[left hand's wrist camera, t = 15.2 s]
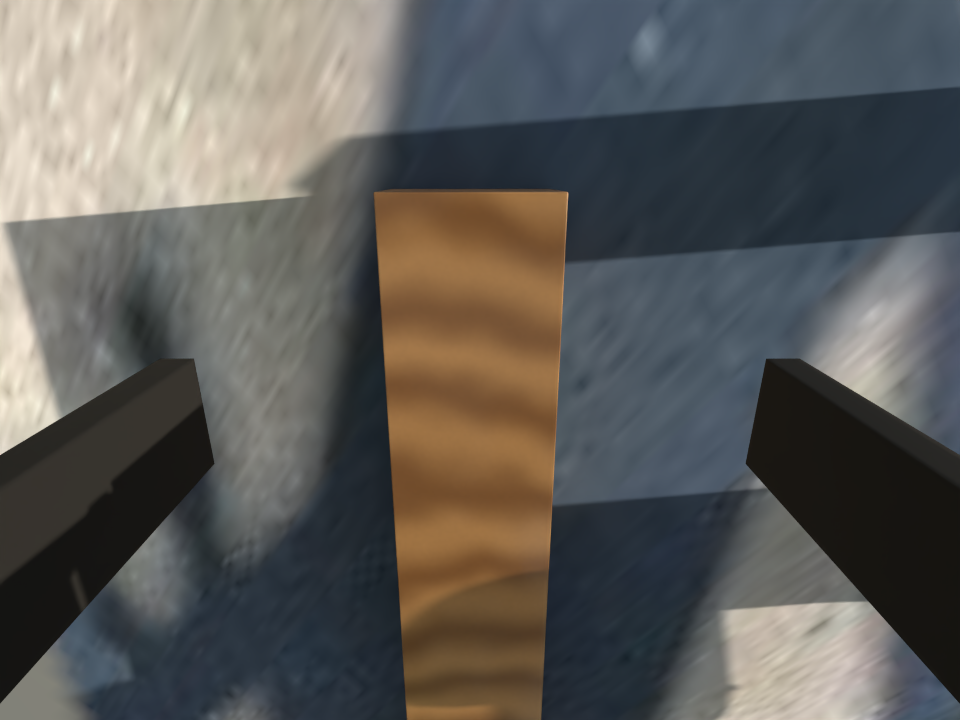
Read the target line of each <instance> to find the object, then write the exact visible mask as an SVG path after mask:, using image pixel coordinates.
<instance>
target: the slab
mask: <svg viewBox="0 0 960 720" xmlns="http://www.w3.org/2000/svg"><path fill="white" fill-rule="evenodd" d="M567 206H568V192H565V191H559V190H553V189H389V190H384V191H378V192H374V208H375V224H376V239H377V255H378V271H379V287H380V303H381V318H382V334H383V350H384V366H385V382H386V397H387V413H388V429H389V445H390V461H391V476H392V492H393V508H394V524H395V540H396V555H397V571H398V587H399V603H400V619H401V635H402V650H403V666H404V682H405V698H406V714H407V720H541V711H542V691H543V672H544V652H545V633H546V614H547V594H548V575H549V555H550V536H551V516H552V497H553V478H554V458H555V439H556V419H557V400H558V381H559V361H560V342H561V322H562V303H563V284H564V264H565V245H566V225H567Z"/></svg>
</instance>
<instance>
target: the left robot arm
mask: <svg viewBox="0 0 960 720" xmlns="http://www.w3.org/2000/svg"><path fill="white" fill-rule="evenodd" d="M213 465H214V459H213V454H212V449H211V444H210V439H209V434H208V429H207V424H206V419H205V414H204V408H203V403H202V398H201V393H200V388H199V383H198V378H197V373H196V368H195V363H194V359H159V360H157V361H156V362H154V363H152V364H151V365H149V366H147V367H146V368H144V369H143V370H141V371H139V372H138V373H136V374H134V375H133V376H131V377H129V378H128V379H126V380H124V381H123V382H121V383H119V384H118V385H116V386H114V387H113V388H111V389H109V390H108V391H106V392H104V393H103V394H101V395H99V396H98V397H96V398H94V399H93V400H91V401H89V402H88V403H86V404H84V405H83V406H81V407H79V408H78V409H76V410H74V411H73V412H71V413H69V414H68V415H66V416H64V417H63V418H61V419H59V420H58V421H56V422H54V423H53V424H51V425H49V426H48V427H46V428H45V429H43V430H41V431H40V432H38V433H36V434H35V435H33V436H31V437H30V438H28V439H26V440H25V441H23V442H21V443H20V444H18V445H16V446H15V447H13V448H11V449H10V450H8V451H6V452H5V453H3V454H1V455H0V703H1V702H2V701H3V700H4V699H5V697H6V696H7V695H8V694H9V693H10V692H11V691H12V690H13V689H14V687H15V686H16V685H17V684H18V683H19V682H20V681H21V680H22V678H23V677H24V676H25V675H26V674H27V673H28V672H29V671H30V670H31V668H32V667H33V666H34V665H35V664H36V663H37V662H38V661H39V659H40V658H41V657H42V656H43V655H44V654H45V653H46V652H47V650H48V649H49V648H50V647H51V646H52V645H53V644H54V643H55V642H56V640H57V639H58V638H59V637H60V636H61V635H62V634H63V633H64V631H65V630H66V629H67V628H68V627H69V626H70V625H71V624H72V622H73V621H74V620H75V619H76V618H77V617H78V616H79V615H80V614H81V612H82V611H83V610H84V609H85V608H86V607H87V606H88V605H89V603H90V602H91V601H92V600H93V599H94V598H95V597H96V596H97V595H98V593H99V592H100V591H101V590H102V589H103V588H104V587H105V586H106V584H107V583H108V582H109V581H110V580H111V579H112V578H113V577H114V575H115V574H116V573H117V572H118V571H119V570H120V569H121V568H122V567H123V565H124V564H125V563H126V562H127V561H128V560H129V559H130V558H131V556H132V555H133V554H134V553H135V552H136V551H137V550H138V549H139V547H140V546H141V545H142V544H143V543H144V542H145V541H146V540H147V539H148V537H149V536H150V535H151V534H152V533H153V532H154V531H155V530H156V528H157V527H158V526H159V525H160V524H161V523H162V522H163V521H164V519H165V518H166V517H167V516H168V515H169V514H170V513H171V512H172V511H173V509H174V508H175V507H176V506H177V505H178V504H179V503H180V502H181V500H182V499H183V498H184V497H185V496H186V495H187V494H188V493H189V492H190V490H191V489H192V488H193V487H194V486H195V485H196V484H197V483H198V481H199V480H200V479H201V478H202V477H203V476H204V475H205V474H206V472H207V471H208V470H209V469H210V468H211V467H212V466H213ZM746 465H747V466H748V467H749V468H750V469H751V470H752V471H753V472H754V474H755V475H756V476H757V477H758V478H759V479H760V480H761V481H762V483H763V484H764V485H765V486H766V487H767V488H768V489H769V490H770V492H771V493H772V494H773V495H774V496H775V497H776V498H777V499H778V500H779V502H780V503H781V504H782V505H783V506H784V507H785V508H786V509H787V511H788V512H789V513H790V514H791V515H792V516H793V517H794V518H795V519H796V521H797V522H798V523H799V524H800V525H801V526H802V527H803V528H804V530H805V531H806V532H807V533H808V534H809V535H810V536H811V537H812V539H813V540H814V541H815V542H816V543H817V544H818V545H819V546H820V547H821V549H822V550H823V551H824V552H825V553H826V554H827V555H828V556H829V558H830V559H831V560H832V561H833V562H834V563H835V564H836V565H837V567H838V568H839V569H840V570H841V571H842V572H843V573H844V574H845V575H846V577H847V578H848V579H849V580H850V581H851V582H852V583H853V584H854V586H855V587H856V588H857V589H858V590H859V591H860V592H861V593H862V594H863V596H864V597H865V598H866V599H867V600H868V601H869V602H870V603H871V605H872V606H873V607H874V608H875V609H876V610H877V611H878V612H879V614H880V615H881V616H882V617H883V618H884V619H885V620H886V621H887V622H888V624H889V625H890V626H891V627H892V628H893V629H894V630H895V631H896V633H897V634H898V635H899V636H900V637H901V638H902V639H903V640H904V642H905V643H906V644H907V645H908V646H909V647H910V648H911V649H912V650H913V652H914V653H915V654H916V655H917V656H918V657H919V658H920V659H921V661H922V662H923V663H924V664H925V665H926V666H927V667H928V668H929V670H930V671H931V672H932V673H933V674H934V675H935V676H936V677H937V678H938V680H939V681H940V682H941V683H942V684H943V685H944V686H945V687H946V689H947V690H948V691H949V692H950V693H951V694H952V695H953V696H954V697H955V699H956V700H957V701H958V702H959V703H960V455H959V454H957V453H955V452H954V451H952V450H950V449H949V448H947V447H945V446H944V445H942V444H940V443H939V442H937V441H935V440H934V439H932V438H930V437H929V436H927V435H925V434H924V433H922V432H920V431H919V430H917V429H915V428H914V427H912V426H911V425H909V424H907V423H906V422H904V421H902V420H901V419H899V418H897V417H896V416H894V415H892V414H891V413H889V412H887V411H886V410H884V409H882V408H881V407H879V406H877V405H876V404H874V403H872V402H871V401H869V400H867V399H866V398H864V397H862V396H861V395H859V394H857V393H856V392H854V391H852V390H851V389H849V388H847V387H846V386H844V385H842V384H841V383H839V382H837V381H836V380H834V379H832V378H831V377H829V376H827V375H826V374H824V373H822V372H821V371H819V370H817V369H816V368H814V367H813V366H811V365H809V364H808V363H806V362H804V361H803V360H801V359H766V363H765V368H764V373H763V378H762V383H761V388H760V393H759V398H758V403H757V408H756V414H755V419H754V424H753V429H752V434H751V439H750V444H749V449H748V454H747V459H746Z"/></svg>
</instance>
